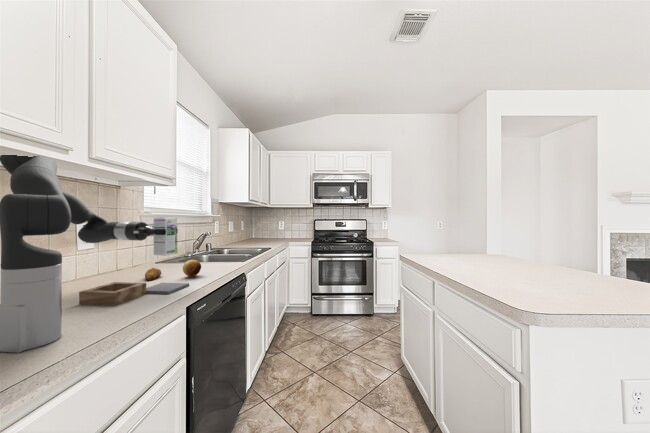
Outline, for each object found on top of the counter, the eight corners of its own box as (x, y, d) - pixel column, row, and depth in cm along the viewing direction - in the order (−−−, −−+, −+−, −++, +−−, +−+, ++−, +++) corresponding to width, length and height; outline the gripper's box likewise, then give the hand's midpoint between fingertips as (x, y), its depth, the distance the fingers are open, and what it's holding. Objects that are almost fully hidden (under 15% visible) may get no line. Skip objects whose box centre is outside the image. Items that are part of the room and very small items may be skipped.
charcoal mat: (169, 294, 96) (169, 291, 96) (139, 293, 98) (139, 290, 98) (189, 285, 108) (189, 283, 108) (162, 284, 109) (162, 282, 109)
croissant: (157, 281, 117) (157, 270, 117) (139, 282, 115) (139, 270, 115) (165, 274, 130) (165, 264, 130) (149, 275, 128) (149, 265, 128)
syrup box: (165, 255, 100) (166, 217, 100) (152, 255, 101) (153, 217, 101) (177, 253, 105) (177, 217, 105) (164, 253, 106) (165, 217, 106)
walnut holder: (115, 305, 84) (115, 292, 84) (79, 304, 85) (79, 291, 85) (146, 293, 97) (146, 283, 97) (114, 292, 98) (114, 282, 98)
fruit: (203, 274, 129) (203, 258, 130) (196, 278, 121) (196, 261, 121) (187, 274, 129) (187, 258, 129) (179, 278, 121) (179, 261, 121)
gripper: (115, 221, 97) (158, 222, 96) (145, 221, 112) (183, 221, 110) (115, 241, 97) (157, 242, 96) (145, 238, 112) (182, 239, 110)
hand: (171, 231), depth 103 cm, fingers closed on syrup box, 6 cm apart
